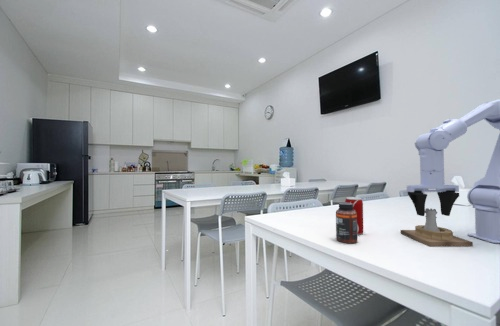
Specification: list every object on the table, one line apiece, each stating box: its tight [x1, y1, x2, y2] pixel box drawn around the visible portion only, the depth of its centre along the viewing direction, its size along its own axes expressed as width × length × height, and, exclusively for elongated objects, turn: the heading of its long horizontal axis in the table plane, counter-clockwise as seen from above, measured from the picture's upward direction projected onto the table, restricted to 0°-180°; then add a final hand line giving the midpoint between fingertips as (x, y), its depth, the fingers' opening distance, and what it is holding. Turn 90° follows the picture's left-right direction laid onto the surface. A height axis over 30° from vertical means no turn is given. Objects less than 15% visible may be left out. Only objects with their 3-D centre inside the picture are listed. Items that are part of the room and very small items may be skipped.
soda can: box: [344, 196, 364, 236], centre depth 75 cm, size 6×6×12 cm
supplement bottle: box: [335, 201, 358, 244], centre depth 67 cm, size 6×6×11 cm
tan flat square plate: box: [400, 224, 473, 247], centre depth 68 cm, size 12×12×3 cm
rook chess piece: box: [423, 207, 440, 232], centre depth 68 cm, size 4×4×8 cm
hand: (433, 215), depth 68 cm, fingers open, 7 cm apart
